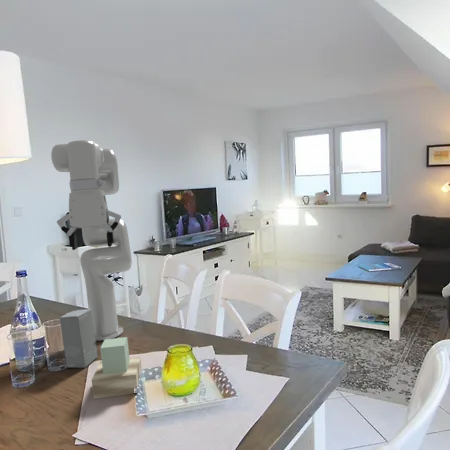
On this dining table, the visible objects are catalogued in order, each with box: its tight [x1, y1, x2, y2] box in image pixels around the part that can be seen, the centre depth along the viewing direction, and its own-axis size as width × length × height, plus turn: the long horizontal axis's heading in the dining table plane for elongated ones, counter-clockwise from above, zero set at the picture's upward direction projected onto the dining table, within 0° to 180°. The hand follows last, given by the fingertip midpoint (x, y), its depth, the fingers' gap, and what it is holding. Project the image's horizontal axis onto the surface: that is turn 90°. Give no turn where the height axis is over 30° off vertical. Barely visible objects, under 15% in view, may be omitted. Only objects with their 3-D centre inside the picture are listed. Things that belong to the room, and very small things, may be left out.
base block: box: [91, 356, 142, 400], centre depth 112 cm, size 11×11×5 cm
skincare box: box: [59, 308, 99, 368], centre depth 129 cm, size 8×7×16 cm
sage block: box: [100, 336, 131, 374], centre depth 112 cm, size 6×6×7 cm
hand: (92, 247), depth 118 cm, fingers open, 9 cm apart
